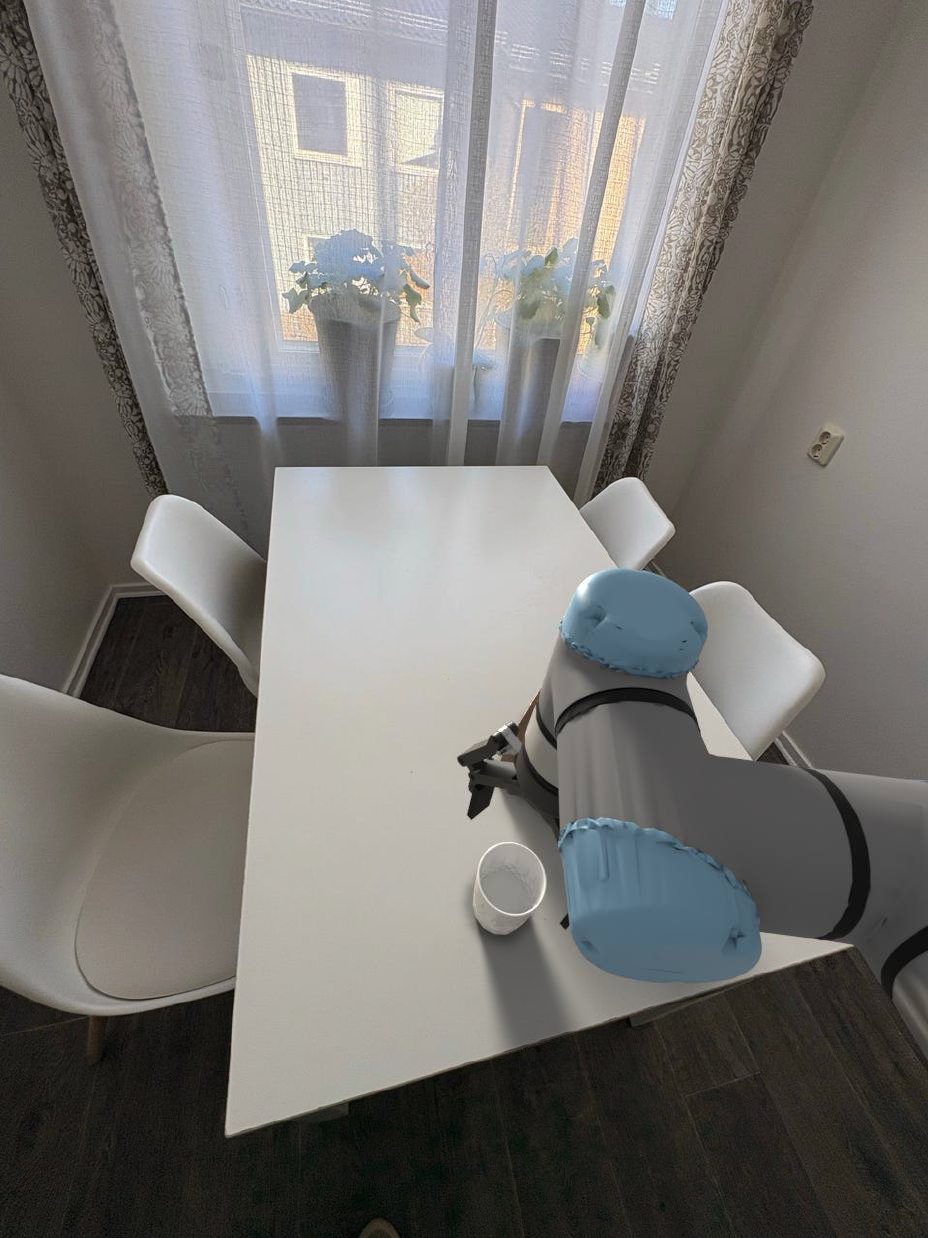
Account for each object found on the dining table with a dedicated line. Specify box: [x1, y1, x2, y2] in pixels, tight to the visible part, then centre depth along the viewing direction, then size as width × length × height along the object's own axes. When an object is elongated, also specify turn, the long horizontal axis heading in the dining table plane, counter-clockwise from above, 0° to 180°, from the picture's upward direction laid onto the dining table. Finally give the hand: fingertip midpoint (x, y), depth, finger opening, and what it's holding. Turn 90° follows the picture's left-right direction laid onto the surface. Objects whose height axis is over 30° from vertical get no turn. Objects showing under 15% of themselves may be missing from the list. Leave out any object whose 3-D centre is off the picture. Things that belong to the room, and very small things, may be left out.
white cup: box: [472, 841, 548, 936], centre depth 61 cm, size 8×8×10 cm
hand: (521, 860), depth 53 cm, fingers open, 13 cm apart
